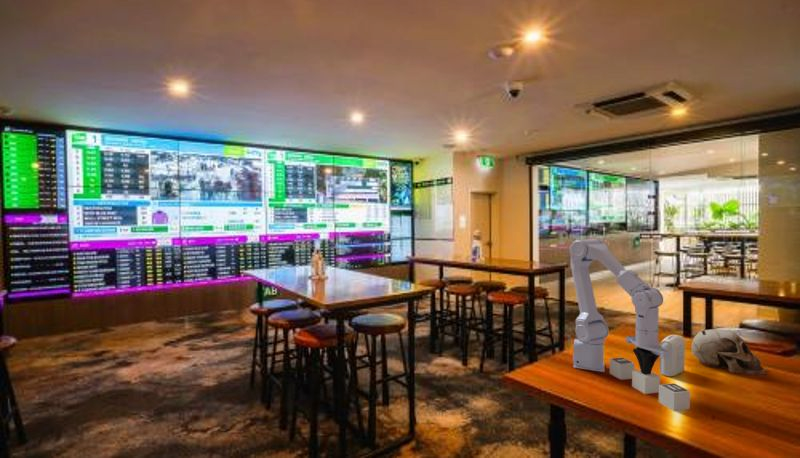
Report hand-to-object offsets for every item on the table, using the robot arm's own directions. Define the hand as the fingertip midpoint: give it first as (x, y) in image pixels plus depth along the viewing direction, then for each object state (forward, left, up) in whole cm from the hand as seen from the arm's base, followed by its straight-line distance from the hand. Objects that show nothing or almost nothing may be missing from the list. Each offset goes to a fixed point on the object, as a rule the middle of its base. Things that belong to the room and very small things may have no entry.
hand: (645, 373), depth 120 cm
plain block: (0, 0, -5) cm, 5 cm away
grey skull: (+27, +32, -5) cm, 42 cm away
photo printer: (+9, +18, -5) cm, 21 cm away
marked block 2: (+6, -8, -5) cm, 11 cm away
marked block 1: (-6, +8, -5) cm, 11 cm away
